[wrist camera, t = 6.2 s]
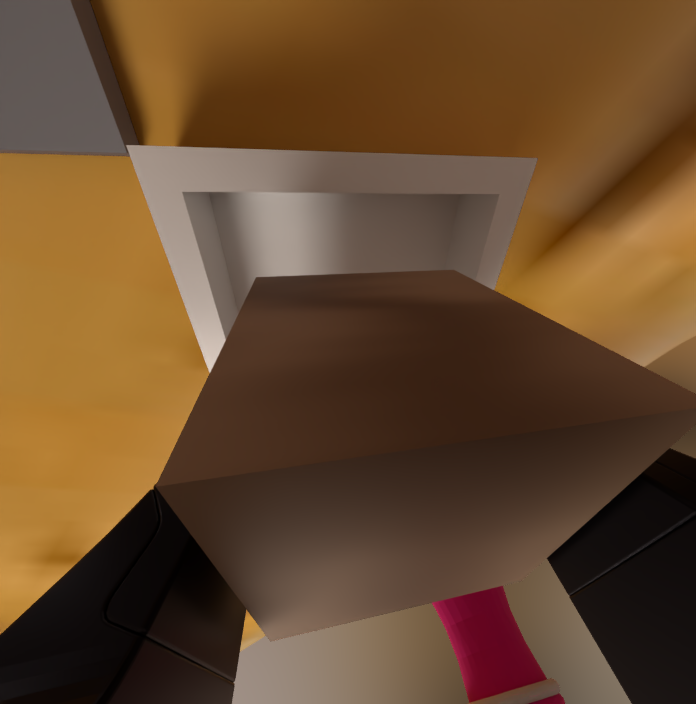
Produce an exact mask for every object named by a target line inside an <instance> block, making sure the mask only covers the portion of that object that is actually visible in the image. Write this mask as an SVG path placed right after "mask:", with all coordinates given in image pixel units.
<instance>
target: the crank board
mask: <svg viewBox="0 0 696 704" xmlns="http://www.w3.org/2000/svg"><path fill="white" fill-rule="evenodd" d="M126 145H139V143H138V140H137V137H136V134H135V131H134V128H133V125H132V122H131V120H130V117H129V114H128V111H127V108H126V105H125V102H124V99H123V96H122V93H121V91H120V88H119V85H118V82H117V79H116V76H115V73H114V70H113V67H112V64H111V62H110V59H109V56H108V53H107V50H106V47H105V44H104V41H103V38H102V35H101V33H100V30H99V27H98V24H97V21H96V18H95V15H94V12H93V9H92V6H91V4H90V1H89V0H0V153H25V154H63V155H102V156H130V155H129V152H128V149H127V146H126Z"/></svg>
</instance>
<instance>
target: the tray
mask: <svg viewBox="0 0 696 704" xmlns="http://www.w3.org/2000/svg"><path fill="white" fill-rule="evenodd" d="M126 146H127V149H128V152H129V155H130V157H131V160H132V163H133V165H134V168H135V171H136V174H137V176H138V179H139V182H140V184H141V187H142V190H143V193H144V195H145V198H146V201H147V204H148V206H149V209H150V212H151V214H152V217H153V220H154V223H155V225H156V228H157V231H158V234H159V236H160V239H161V242H162V244H163V247H164V250H165V253H166V255H167V258H168V261H169V264H170V266H171V269H172V272H173V274H174V277H175V280H176V283H177V285H178V288H179V291H180V293H181V296H182V299H183V302H184V304H185V307H186V310H187V313H188V315H189V318H190V321H191V323H192V326H193V329H194V332H195V334H196V337H197V340H198V343H199V345H200V348H201V351H202V353H203V356H204V359H205V362H206V364H207V367H208V370H209V372H211V370H212V368H213V366H214V364H215V362H216V360H217V357H218V355H219V353H220V351H221V349H222V347H223V345H224V343H225V341H226V339H227V337H228V335H229V332H230V330H231V328H232V326H233V324H234V322H235V320H236V318H237V316H238V314H239V312H240V310H241V307H242V305H243V303H244V301H245V299H246V297H247V295H248V293H249V291H250V289H251V287H252V285H253V282H254V280H255V278H256V277H273V276H299V275H326V274H352V273H379V272H405V271H432V270H455V271H457V272H459V273H461V274H463V275H465V276H467V277H469V278H471V279H473V280H475V281H477V282H479V283H481V284H483V285H485V286H487V287H488V288H490V289H492V290H494V289H495V286H496V283H497V280H498V277H499V274H500V271H501V268H502V265H503V262H504V259H505V256H506V253H507V250H508V247H509V244H510V241H511V238H512V235H513V232H514V229H515V226H516V223H517V220H518V217H519V214H520V211H521V208H522V205H523V202H524V199H525V196H526V193H527V190H528V187H529V184H530V181H531V178H532V175H533V172H534V169H535V166H536V163H537V160H538V158H520V157H489V156H457V155H425V154H394V153H362V152H330V151H298V150H267V149H235V148H203V147H172V146H140V145H126Z"/></svg>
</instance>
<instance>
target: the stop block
mask: <svg viewBox="0 0 696 704" xmlns="http://www.w3.org/2000/svg"><path fill="white" fill-rule="evenodd" d="M695 425H696V394H695V393H693V392H691V391H689V390H687V389H685V388H683V387H681V386H679V385H677V384H675V383H673V382H671V381H669V380H668V379H666V378H664V377H662V376H660V375H658V374H656V373H654V372H652V371H650V370H648V369H646V368H644V367H642V366H640V365H638V364H636V363H634V362H633V361H631V360H629V359H627V358H625V357H623V356H621V355H619V354H617V353H615V352H613V351H611V350H609V349H607V348H605V347H603V346H601V345H599V344H597V343H596V342H594V341H592V340H590V339H588V338H586V337H584V336H582V335H580V334H578V333H576V332H574V331H572V330H570V329H568V328H566V327H564V326H562V325H561V324H559V323H557V322H555V321H553V320H551V319H549V318H547V317H545V316H543V315H541V314H539V313H537V312H535V311H533V310H531V309H529V308H527V307H525V306H524V305H522V304H520V303H518V302H516V301H514V300H512V299H510V298H508V297H506V296H504V295H502V294H500V293H498V292H496V291H494V290H492V289H490V288H488V287H487V286H485V285H483V284H481V283H479V282H477V281H475V280H473V279H471V278H469V277H467V276H465V275H463V274H461V273H459V272H457V271H455V270H432V271H405V272H379V273H352V274H326V275H299V276H273V277H256V278H255V280H254V282H253V285H252V287H251V289H250V291H249V293H248V295H247V297H246V299H245V301H244V303H243V305H242V307H241V310H240V312H239V314H238V316H237V318H236V320H235V322H234V324H233V326H232V328H231V330H230V332H229V335H228V337H227V339H226V341H225V343H224V345H223V347H222V349H221V351H220V353H219V355H218V357H217V360H216V362H215V364H214V366H213V368H212V370H211V372H210V374H209V376H208V378H207V380H206V382H205V385H204V387H203V389H202V391H201V393H200V395H199V397H198V399H197V401H196V403H195V405H194V407H193V410H192V412H191V414H190V416H189V418H188V420H187V422H186V424H185V426H184V428H183V430H182V432H181V435H180V437H179V439H178V441H177V443H176V445H175V447H174V449H173V451H172V453H171V455H170V457H169V460H168V462H167V464H166V466H165V468H164V470H163V472H162V474H161V476H160V478H159V480H158V482H157V485H156V488H157V489H158V491H159V492H160V493H161V495H162V496H163V497H164V499H165V500H166V501H167V503H168V504H169V505H170V507H171V508H172V510H173V511H174V512H175V514H176V515H177V516H178V518H179V519H180V520H181V522H182V523H183V524H184V526H185V527H186V528H187V530H188V531H189V532H190V534H191V535H192V536H193V538H194V539H195V540H196V542H197V543H198V545H199V546H200V547H201V549H202V550H203V551H204V553H205V554H206V555H207V557H208V558H209V559H210V561H211V562H212V563H213V565H214V566H215V567H216V569H217V570H218V571H219V573H220V574H221V576H222V577H223V578H224V580H225V581H226V582H227V584H228V585H229V586H230V588H231V589H232V590H233V592H234V593H235V594H236V596H237V597H238V598H239V600H240V601H241V602H242V604H243V605H244V606H245V608H246V609H247V611H248V612H249V613H250V615H251V616H252V617H253V619H254V620H255V621H256V623H257V624H258V625H259V627H260V628H261V629H262V631H263V632H264V633H265V635H266V636H267V637H268V639H269V640H270V641H275V640H279V639H283V638H287V637H291V636H295V635H300V634H304V633H308V632H312V631H316V630H320V629H325V628H329V627H333V626H337V625H341V624H346V623H350V622H353V621H358V620H362V619H366V618H370V617H374V616H379V615H383V614H387V613H391V612H395V611H400V610H404V609H407V608H412V607H416V606H420V605H425V604H429V603H433V602H437V601H441V600H445V599H449V598H454V597H458V596H462V595H466V594H470V593H474V592H479V591H483V590H487V589H491V588H495V587H499V586H504V585H508V584H512V583H516V582H520V581H522V580H523V579H524V578H525V577H526V576H527V575H529V574H530V573H531V572H532V571H533V570H534V569H535V568H536V567H537V566H539V565H540V564H541V563H542V562H543V561H544V560H545V559H546V558H547V557H549V556H550V555H551V554H552V553H553V552H554V551H555V550H556V549H558V548H559V547H560V546H561V545H562V544H563V543H564V542H565V541H566V540H568V539H569V538H570V537H571V536H572V535H573V534H574V533H575V532H576V531H578V530H579V529H580V528H581V527H582V526H583V525H584V524H585V523H586V522H588V521H589V520H590V519H591V518H592V517H593V516H594V515H595V514H597V513H598V512H599V511H600V510H601V509H602V508H603V507H604V506H605V505H607V504H608V503H609V502H610V501H611V500H612V499H613V498H614V497H615V496H617V495H618V494H619V493H620V492H621V491H622V490H623V489H624V488H626V487H627V486H628V485H629V484H630V483H631V482H632V481H633V480H634V479H636V478H637V477H638V476H639V475H640V474H641V473H642V472H643V471H644V470H646V469H647V468H648V467H649V466H650V465H651V464H652V463H653V462H654V461H656V460H657V459H658V458H659V457H660V456H661V455H662V454H663V453H665V452H666V451H667V450H668V449H669V448H670V447H671V446H672V445H673V444H674V443H676V442H677V441H678V440H679V439H680V438H681V437H682V436H683V435H685V434H686V433H687V432H688V431H689V430H690V429H691V428H692V427H693V426H695Z"/></svg>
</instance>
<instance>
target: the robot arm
mask: <svg viewBox="0 0 696 704" xmlns="http://www.w3.org/2000/svg"><path fill="white" fill-rule="evenodd" d="M156 485H157V483H156V484H155V485H154V490H153V489H152V490H150V491H149V492H148V493H147V494H146V495H145V496H144V497H143V498H142V499H141V500H140V501H139V502H138V503H137V504H136V505H135V506H134V507H133V508H132V509H131V510H130V511H129V512H128V513H127V514H126V515H125V517H124V518H123V519H122V520H121V521H120V522H119V523H118V524H117V525H116V526H115V527H114V528H113V529H112V530H111V531H110V532H109V533H108V534H107V535H106V536H105V537H104V538H103V539H102V540H101V541H100V542H99V543H97V544H96V545H95V546H94V547H93V548H92V549H91V550H90V551H89V552H88V553H87V554H86V555H85V556H84V557H83V558H82V559H81V560H80V561H79V562H78V563H77V564H76V565H74V566H73V567H72V568H71V569H70V570H69V571H68V572H67V573H66V574H65V575H64V576H63V577H62V578H61V579H60V580H59V581H57V582H56V583H55V584H54V585H53V586H52V587H51V588H50V589H49V590H48V591H47V592H46V593H45V594H44V595H42V596H41V597H40V598H39V599H38V600H37V601H36V602H35V603H34V604H33V605H32V606H31V607H30V608H29V609H27V610H26V611H25V612H24V613H23V614H22V615H21V616H20V617H19V618H18V619H17V620H16V621H15V622H13V623H12V624H11V625H10V626H9V627H8V628H7V629H6V630H5V631H4V632H3V633H2V634H1V635H0V704H232V697H233V691H234V683H233V682H234V681H235V678H236V672H237V665H238V659H239V653H240V646H241V640H242V633H243V627H244V620H245V614H246V608H245V606H244V605H243V604H242V602H241V601H240V600H239V598H238V597H237V596H236V594H235V593H234V592H233V590H232V589H231V588H230V586H229V585H228V584H227V582H226V581H225V580H224V578H223V577H222V576H221V574H220V573H219V571H218V570H217V569H216V567H215V566H214V565H213V563H212V562H211V561H210V559H209V558H208V557H207V555H206V554H205V553H204V551H203V550H202V549H201V547H200V546H199V545H198V543H197V542H196V540H195V539H194V538H193V536H192V535H191V534H190V532H189V531H188V530H187V528H186V527H185V526H184V524H183V523H182V522H181V520H180V519H179V518H178V516H177V515H176V514H175V512H174V511H173V510H172V508H171V507H170V505H169V504H168V503H167V501H166V500H165V499H164V497H163V496H162V495H161V493H160V492H159V491H158V489H157V488H156ZM547 559H548V561H549V563H550V564H551V566H552V568H553V570H554V571H555V573H556V575H557V576H558V578H559V580H560V582H561V583H562V585H563V586H564V588H565V590H566V592H567V593H568V595H570V599H571V601H572V602H573V604H574V606H575V607H576V609H577V611H578V613H579V614H580V616H581V618H582V619H583V621H584V623H585V624H586V626H587V628H588V629H589V631H590V633H591V635H592V637H593V638H594V640H595V642H596V643H597V645H598V647H599V648H600V650H601V652H602V654H603V655H604V657H605V658H606V660H607V662H608V664H609V665H610V667H611V669H612V671H613V672H614V674H615V676H616V677H617V679H618V681H619V683H620V684H621V686H622V688H623V689H624V691H625V693H626V695H627V696H628V698H629V700H630V701H631V703H632V704H696V458H693V457H691V456H688V455H686V454H683V453H681V452H678V451H676V450H673V449H671V448H669V449H668V450H667V451H666V452H665V453H663V454H662V455H661V456H660V457H659V458H658V459H657V460H656V461H654V462H653V463H652V464H651V465H650V466H649V467H648V468H647V469H646V470H644V471H643V472H642V473H641V474H640V475H639V476H638V477H637V478H636V479H634V480H633V481H632V482H631V483H630V484H629V485H628V486H627V487H626V488H624V489H623V490H622V491H621V492H620V493H619V494H618V495H617V496H615V497H614V498H613V499H612V500H611V501H610V502H609V503H608V504H607V505H605V506H604V507H603V508H602V509H601V510H600V511H599V512H598V513H597V514H595V515H594V516H593V517H592V518H591V519H590V520H589V521H588V522H586V523H585V524H584V525H583V526H582V527H581V528H580V529H579V530H578V531H576V532H575V533H574V534H573V535H572V536H571V537H570V538H569V539H568V540H566V541H565V542H564V543H563V544H562V545H561V546H560V547H559V548H558V549H556V550H555V551H554V552H553V553H552V554H551V555H550V556H549V557H547Z"/></svg>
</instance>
